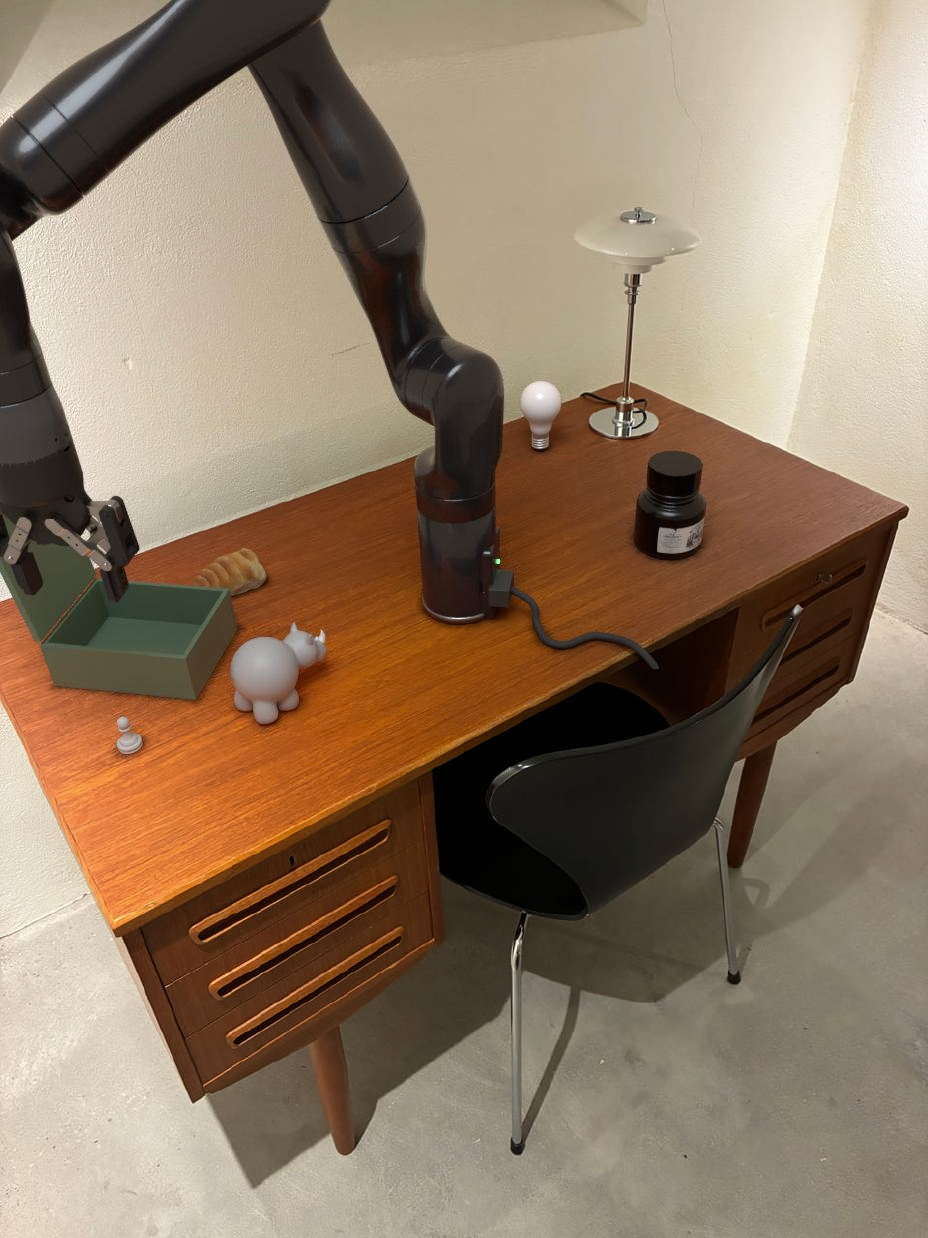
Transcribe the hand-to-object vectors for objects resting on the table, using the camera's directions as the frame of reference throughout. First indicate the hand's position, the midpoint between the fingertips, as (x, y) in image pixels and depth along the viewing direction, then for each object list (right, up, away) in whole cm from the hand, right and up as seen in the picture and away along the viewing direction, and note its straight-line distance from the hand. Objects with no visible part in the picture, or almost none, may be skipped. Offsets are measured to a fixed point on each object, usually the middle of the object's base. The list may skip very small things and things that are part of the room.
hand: (76, 593), depth 94 cm
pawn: (+1, -16, +11) cm, 19 cm away
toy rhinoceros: (+17, -11, +17) cm, 26 cm away
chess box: (0, -7, +23) cm, 24 cm away
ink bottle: (+64, +8, +39) cm, 75 cm away
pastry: (+7, +2, +34) cm, 35 cm away
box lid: (-10, +6, +15) cm, 19 cm away
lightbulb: (+49, +24, +62) cm, 82 cm away
